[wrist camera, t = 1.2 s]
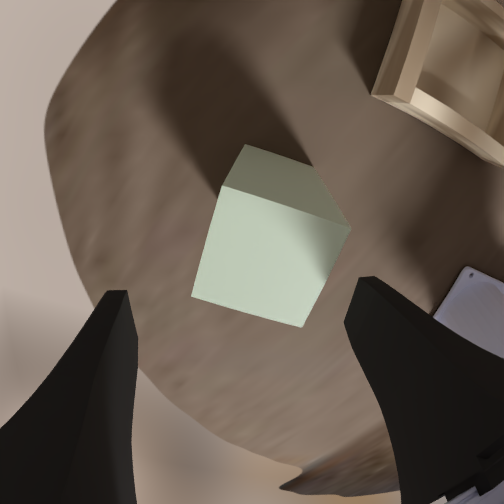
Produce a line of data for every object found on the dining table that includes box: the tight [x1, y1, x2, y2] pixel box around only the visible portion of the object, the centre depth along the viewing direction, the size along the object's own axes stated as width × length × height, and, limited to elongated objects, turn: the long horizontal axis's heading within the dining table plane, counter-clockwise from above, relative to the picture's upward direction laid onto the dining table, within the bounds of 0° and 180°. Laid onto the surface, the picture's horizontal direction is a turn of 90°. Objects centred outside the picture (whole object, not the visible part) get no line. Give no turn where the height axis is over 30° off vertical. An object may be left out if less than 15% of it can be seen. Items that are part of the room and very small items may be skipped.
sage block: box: [191, 144, 351, 328], centre depth 16 cm, size 4×4×10 cm
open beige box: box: [371, 0, 504, 169], centre depth 13 cm, size 10×10×4 cm
